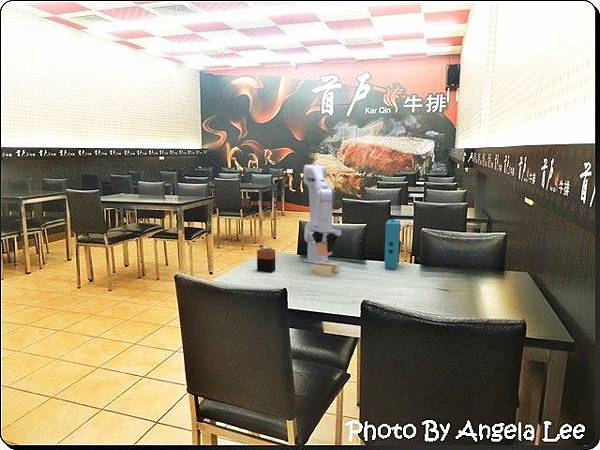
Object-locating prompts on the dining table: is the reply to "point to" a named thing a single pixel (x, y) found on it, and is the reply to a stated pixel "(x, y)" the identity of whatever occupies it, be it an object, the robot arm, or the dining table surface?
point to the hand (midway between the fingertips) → (324, 250)
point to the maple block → (325, 269)
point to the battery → (266, 260)
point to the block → (392, 244)
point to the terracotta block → (323, 249)
